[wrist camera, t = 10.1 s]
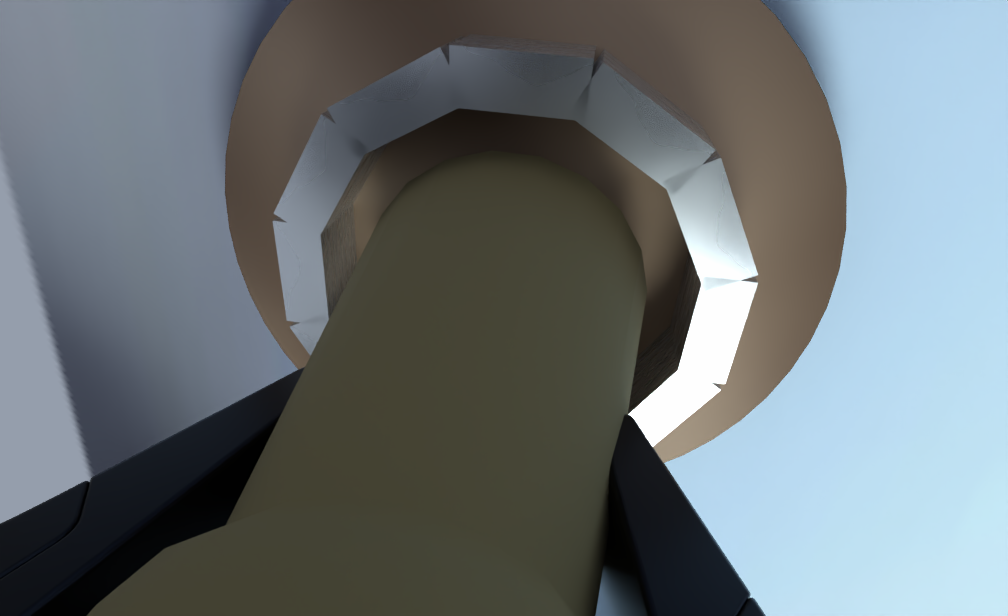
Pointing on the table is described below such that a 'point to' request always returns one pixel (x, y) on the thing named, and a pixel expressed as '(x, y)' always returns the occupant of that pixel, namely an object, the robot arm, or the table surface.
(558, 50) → the socket ring
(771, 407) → the table surface
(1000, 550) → the table surface
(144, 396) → the table surface
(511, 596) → the cork
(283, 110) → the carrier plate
